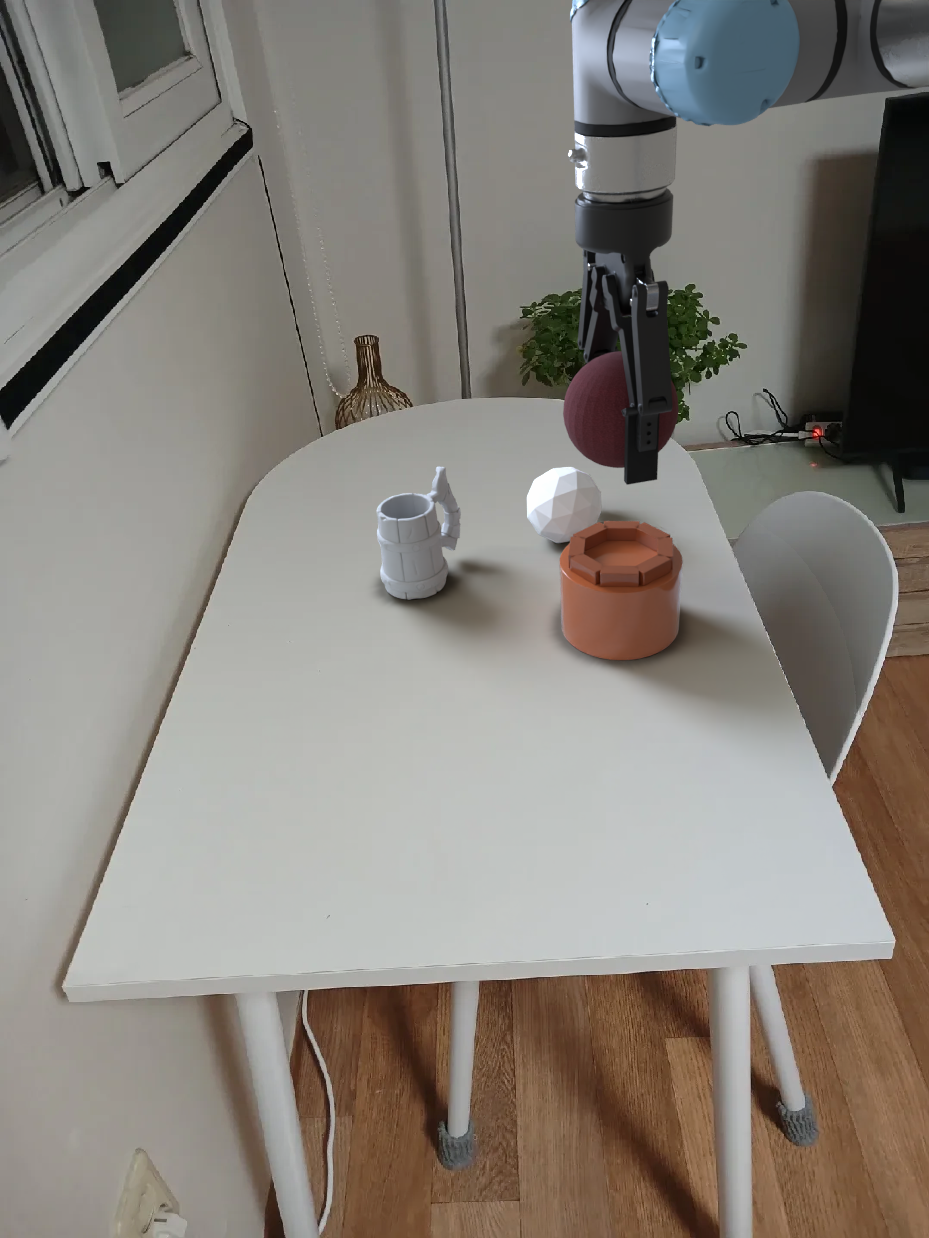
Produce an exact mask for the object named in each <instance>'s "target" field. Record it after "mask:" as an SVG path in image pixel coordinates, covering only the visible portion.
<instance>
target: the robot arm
mask: <svg viewBox="0 0 929 1238" xmlns="http://www.w3.org/2000/svg"><path fill="white" fill-rule="evenodd" d="M571 2H572V4H571V9H570V12H569V22H570V24H571V40H572V41H571V45H572V79H573V121H574V122H573V123H574V124H573V125H574V126H573V127H574V128H573V129H574V143H575V144H574V147H575V148H573V149H569V151H568V152H567V157H568V161H569V162H570V163H572V164H574V177H575V178H574V180H575V181H574V184H575V187H576V188H577V189H578V190H579V191H580V192H581V193H579V194H578V195H577V197H576V198H575V200H574V237H575V243H576V244H577V246H578V247H579V248H581V249H582V253H581V254H582V263H583V264H582V268H583V269H582V271H583V272H582V273H583V274H582V285H581V299H580V311H579V323H578V335H577V347H578V349H579V350H583V356H582V357H583V360H584V362H585V363H586V364H587V363H589V362H590V361H591V360H593V359H595V358H597V357H599V356H602V355H604V354H607V353H611V352H617V351H622V357H623V364H624V370H625V377H626V384H627V390H628V397H629V403H630V407H629V408H625V409H623V410H622V414H623V416H624V417H625V453H624V468H623V481H624V483H625V484H626V486H627V485H634V484H639V483H645V482H651V481H657V480H658V471H659V470H658V468H659V452H658V445H659V419H660V413H664V412H670V411H672V408H673V402H672V387H671V380H672V374H671V357H670V355H671V353H670V341H669V340H670V339H669V324H668V305H669V304H668V303H669V292H670V291H669V284H668V281H667V280H659V281H656V280H655V279H656V278H655V274H654V273H655V272H654V270H653V268H652V263H651V262H652V261H651V254H652V253H653V252H654V251H655V250H656V249H657V248H661V247H663V246H664V245H666V244H667V243H668V242H669V241H670V240H671V238H672V235H673V214H674V194H673V193H672V192H671V190H670V189H669V188H668V187H669V186H671V185H672V184H673V182H674V181H675V179H676V163H677V141H678V140H677V139H678V138H677V137H678V124H677V118H678V119H682V120H683V121H685V122H692V123H693V124H694V125H697V126H703V127H710V126H714V125H719V126H738V125H743V124H746V123H748V122H751V121H753V120H755V119H757V118H758V117H759V116H760V115H762V114H764V113H765V112H766V111H767V110H768V109H772V108H773V109H774V108H780V107H787V106H792V105H799V104H805V103H809V102H813V101H821V100H828V99H836V98H844V97H852V96H860V95H868V94H876V93H886V92H897V91H898V92H899V91H907V90H915V89H918V88H919V89H920V88H929V0H572V1H571ZM618 339H619V343H620V349H619V348H618V345H617V343H618Z"/></svg>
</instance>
